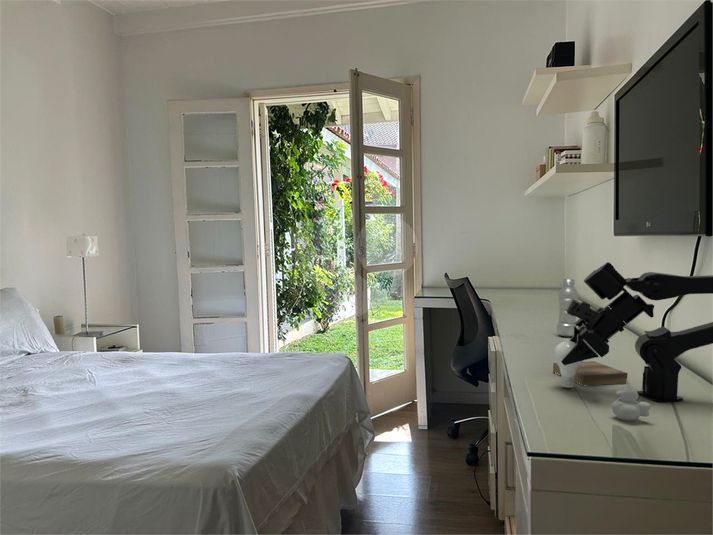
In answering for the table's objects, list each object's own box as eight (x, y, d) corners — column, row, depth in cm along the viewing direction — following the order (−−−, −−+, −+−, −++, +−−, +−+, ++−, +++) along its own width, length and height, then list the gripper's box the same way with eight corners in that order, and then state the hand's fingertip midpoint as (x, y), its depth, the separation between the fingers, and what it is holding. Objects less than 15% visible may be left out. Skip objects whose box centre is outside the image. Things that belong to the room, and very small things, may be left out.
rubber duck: (611, 413, 106) (612, 373, 105) (648, 418, 103) (650, 378, 102) (610, 421, 101) (612, 380, 100) (650, 427, 98) (652, 385, 98)
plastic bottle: (552, 335, 187) (554, 279, 186) (566, 334, 190) (568, 278, 189) (566, 338, 182) (569, 280, 180) (581, 337, 184) (583, 280, 183)
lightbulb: (564, 393, 119) (566, 344, 118) (546, 385, 125) (548, 339, 124) (588, 391, 120) (590, 343, 120) (569, 383, 126) (571, 338, 126)
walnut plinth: (626, 383, 127) (627, 373, 127) (583, 386, 125) (583, 375, 125) (593, 370, 139) (594, 361, 139) (553, 372, 136) (553, 363, 136)
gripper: (586, 284, 129) (536, 326, 133) (594, 292, 111) (536, 340, 115) (620, 319, 127) (569, 360, 131) (634, 332, 109) (574, 380, 113)
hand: (561, 359), depth 123 cm, fingers open, 8 cm apart
